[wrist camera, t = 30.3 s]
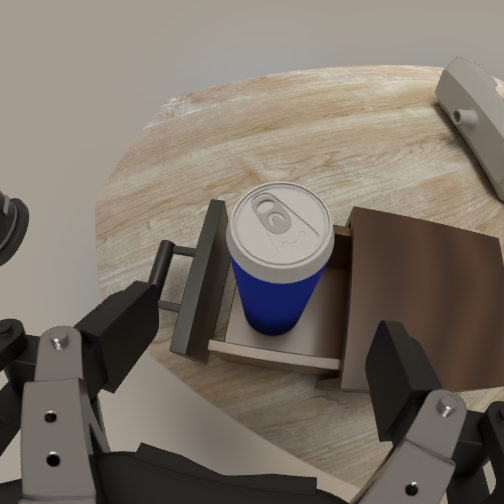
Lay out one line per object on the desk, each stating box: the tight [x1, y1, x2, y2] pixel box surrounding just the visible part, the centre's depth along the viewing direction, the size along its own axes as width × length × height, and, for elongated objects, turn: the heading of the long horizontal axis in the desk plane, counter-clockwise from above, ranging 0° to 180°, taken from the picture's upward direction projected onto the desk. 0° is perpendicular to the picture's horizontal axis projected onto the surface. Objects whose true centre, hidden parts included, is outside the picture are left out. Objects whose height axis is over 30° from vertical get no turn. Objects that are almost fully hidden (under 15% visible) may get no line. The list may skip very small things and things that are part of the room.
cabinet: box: [315, 207, 504, 393], centre depth 23 cm, size 16×14×10 cm
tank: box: [435, 57, 504, 201], centre depth 33 cm, size 25×16×12 cm, turn 6°
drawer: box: [148, 199, 351, 377], centre depth 24 cm, size 19×12×8 cm, turn 80°
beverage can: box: [226, 181, 334, 336], centre depth 20 cm, size 5×5×15 cm
